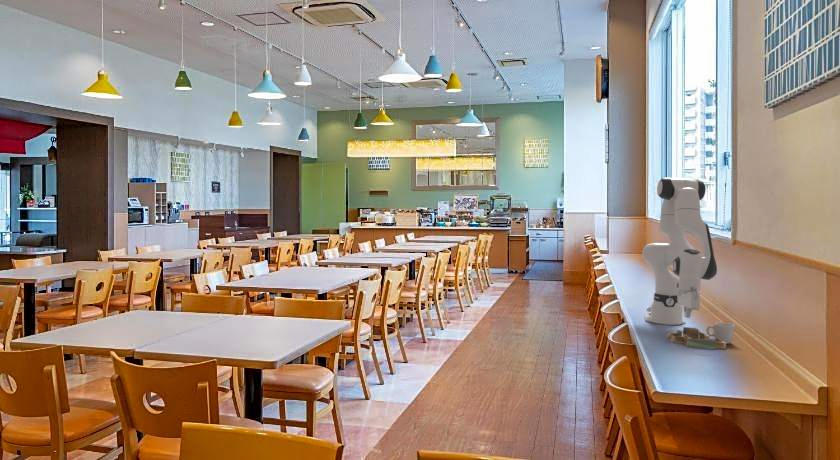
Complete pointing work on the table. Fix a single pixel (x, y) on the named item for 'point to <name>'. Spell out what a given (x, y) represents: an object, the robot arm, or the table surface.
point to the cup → (722, 331)
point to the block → (691, 332)
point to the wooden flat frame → (697, 340)
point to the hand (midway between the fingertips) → (687, 317)
